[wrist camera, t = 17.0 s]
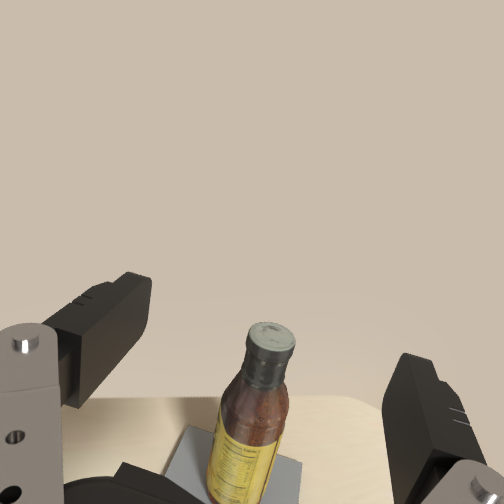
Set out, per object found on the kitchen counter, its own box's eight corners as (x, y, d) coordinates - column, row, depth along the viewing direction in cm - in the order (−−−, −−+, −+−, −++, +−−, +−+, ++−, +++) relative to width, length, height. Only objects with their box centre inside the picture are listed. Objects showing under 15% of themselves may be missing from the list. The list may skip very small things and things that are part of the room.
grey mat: (141, 529, 36) (142, 522, 36) (187, 431, 47) (188, 424, 47) (287, 584, 35) (290, 577, 34) (300, 468, 46) (302, 462, 45)
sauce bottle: (232, 453, 45) (271, 304, 37) (274, 494, 41) (326, 338, 34) (188, 488, 40) (222, 325, 32) (231, 538, 36) (281, 367, 29)
